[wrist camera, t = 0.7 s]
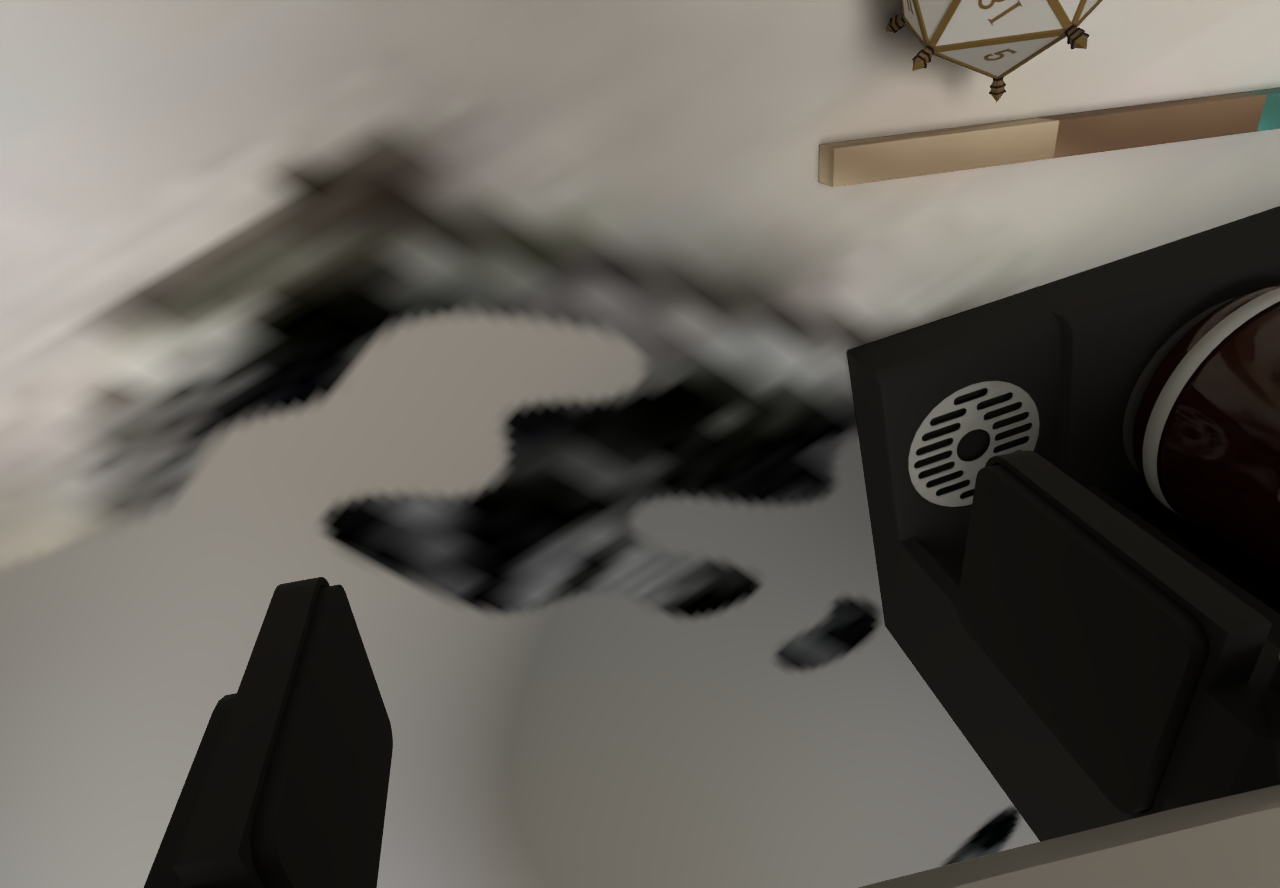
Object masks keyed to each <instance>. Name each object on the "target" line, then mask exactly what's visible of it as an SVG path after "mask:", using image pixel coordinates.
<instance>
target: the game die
mask: <svg viewBox="0 0 1280 888" xmlns="http://www.w3.org/2000/svg"><path fill="white" fill-rule="evenodd" d="M1101 1H1102V0H901V7H902V15H900V16H898V15H896V16H895V18H890V23H889V25H888V27H887V29H886V31H892V32H894V33H895V32H897V31H898V30H900V29H901V28H902V27H904V24H905V23H906V24H907V25H908V26H909V27H910V29H911V30H912V31H913V33H914V34H915V35H916V37H917V38H918V39H919V41H920V42H921V43H922V44H923V46H924V47H925V49H924V50H923V49H922V50H921V51H920V52H919V53H918V54H917V55H916V56H915V57H914V58H913V59H912V60H913V71H914V70H917V69H920V68H926V67H927V63H928V62H931V56H932V54H933V55H936V56H938V57H941V58H943V59H946V60H948V61H951V62H954V63H956V64H959V65H961V66H964V67H966V68H969V69H971V70H974V71H976V72H979V73H981V74H984V75H987V76H989V77H992V78H993V83H992V85H991V86H990V88H991V91H990V92H989V94H991V95H992V96H993V97H994V99H995V100H996V101H998V100H999V98H1000V97H1001V96H1002V94H1003V93H1004V92H1006V90H1005V89H1004V86H1006V84H1005V83H1004V81H1003V77H1004V76H1006V75H1007V74H1009V73H1010V72H1012V71H1014V70H1015V69H1017V68H1018V67H1020V66H1021V65H1023V64H1024V63H1026V62H1027V61H1029V60H1031V59H1032V58H1034V57H1035V56H1037V55H1038V54H1040V53H1041V52H1043V51H1044V50H1046V49H1047V48H1049V47H1051V46H1052V45H1054V44H1055V43H1057V42H1058V41H1060V40H1061V39H1063V38H1064V37H1066V36H1067V38H1068V41H1067V43H1068V44H1071V49H1074V48H1084V49H1086V48H1087V38H1088V37H1089V35H1088V34H1086V33H1084V32H1085V31H1084V30H1083V29H1081V28H1079V27H1078V26H1079V25H1080V24H1081V23H1082V21H1083V20H1084V19H1085V18H1086V17H1087V16H1088V15H1089V14H1090V13H1091V12H1092V11H1093V10H1094V9H1095V8H1096V7H1097V6H1098V5H1099V3H1100V2H1101ZM1077 27H1078V28H1077Z"/></svg>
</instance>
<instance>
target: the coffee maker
mask: <svg viewBox="0 0 1280 888" xmlns="http://www.w3.org/2000/svg"><path fill="white" fill-rule="evenodd" d="M847 356H848V363H849V370H850V377H851V384H852V392H853V399H854V406H855V413H856V420H857V427H858V435H859V442H860V449H861V456H862V463H863V470H864V478H865V484H866V492H867V499H868V506H869V513H870V521H871V528H872V534H873V542H874V549H875V556H876V564H877V571H878V578H879V585H880V592H881V599H882V607H883V614H884V621H885V626H886V627H887V629H888V630H889V632H890V633H891V634H892V636H893V637H894V639H895V640H896V641H897V643H898V644H899V646H900V647H901V648H902V650H903V651H904V653H905V654H906V655H907V657H908V658H909V659H910V661H911V662H912V664H913V665H914V666H915V668H916V669H917V671H918V672H919V673H920V675H921V676H922V678H923V679H924V680H925V681H926V683H927V685H928V686H929V687H930V689H931V690H932V691H933V693H934V694H935V696H936V697H937V698H938V700H939V701H940V703H941V704H942V705H943V707H944V708H945V710H946V711H947V712H948V714H949V715H950V716H951V718H952V719H953V721H954V722H955V724H956V725H957V726H958V728H959V729H960V730H961V732H962V733H963V735H964V736H965V737H966V739H967V740H968V742H969V743H970V744H971V746H972V747H973V749H974V750H975V751H976V753H977V754H978V756H979V757H980V758H981V760H982V761H983V762H984V764H985V765H986V767H987V768H988V769H989V771H990V772H991V774H992V775H993V776H994V778H995V779H996V781H997V782H998V783H999V785H1000V786H1001V787H1002V789H1003V790H1004V792H1005V793H1006V794H1007V796H1008V797H1009V799H1010V800H1011V802H1012V803H1013V804H1014V806H1015V807H1016V808H1017V810H1018V811H1019V813H1020V814H1021V815H1022V817H1023V818H1024V820H1025V821H1026V822H1027V824H1028V825H1029V827H1030V828H1031V829H1032V831H1033V832H1034V833H1035V835H1036V836H1037V838H1038V839H1039V840H1040V842H1042V841H1046V840H1050V839H1054V838H1058V837H1062V836H1066V835H1070V834H1074V833H1078V832H1082V831H1086V830H1090V829H1094V828H1098V827H1102V826H1106V825H1110V824H1114V823H1118V822H1122V821H1126V820H1130V819H1134V818H1133V817H1132V815H1131V814H1126V813H1123V812H1121V811H1119V810H1118V809H1117V808H1116V807H1115V806H1114V805H1113V804H1112V803H1111V802H1110V801H1109V800H1108V799H1107V798H1106V796H1105V795H1104V794H1103V793H1102V792H1101V790H1100V789H1099V788H1098V787H1097V786H1096V785H1095V783H1094V782H1093V781H1092V780H1091V779H1090V777H1089V776H1088V775H1087V774H1086V773H1085V771H1084V770H1083V769H1082V768H1081V767H1080V766H1079V764H1078V763H1077V762H1076V761H1075V760H1074V758H1073V757H1072V756H1071V755H1070V754H1069V753H1068V751H1067V750H1066V749H1065V748H1064V747H1063V745H1062V744H1061V743H1060V742H1059V741H1058V739H1057V738H1056V737H1055V736H1054V735H1053V734H1052V732H1051V731H1050V730H1049V729H1048V728H1047V726H1046V725H1045V724H1044V723H1043V722H1042V720H1041V719H1040V718H1039V717H1038V716H1037V715H1036V713H1035V712H1034V711H1033V710H1032V709H1031V707H1030V706H1029V705H1028V704H1027V703H1026V701H1025V700H1024V699H1023V698H1022V697H1021V696H1020V694H1019V693H1018V692H1017V691H1016V690H1015V688H1014V687H1013V686H1012V685H1011V684H1010V683H1009V681H1008V680H1007V679H1006V678H1005V677H1004V675H1003V674H1002V673H1001V672H1000V671H999V669H998V668H997V667H996V666H995V665H994V664H993V662H992V661H991V660H990V659H989V658H988V656H987V655H986V654H985V653H984V652H983V650H982V649H981V648H980V647H979V646H978V645H977V643H976V642H975V641H974V640H973V639H972V637H971V636H970V635H969V634H968V633H967V631H966V630H965V629H964V627H963V626H962V624H961V622H960V620H959V617H958V613H957V600H958V594H959V587H960V581H961V574H962V567H963V561H964V554H965V548H966V541H967V535H968V528H969V521H970V515H971V508H972V502H973V495H974V489H975V482H976V477H977V473H978V472H979V470H980V469H982V468H984V467H985V465H986V462H987V461H988V460H989V458H991V457H993V456H997V455H1003V454H1008V453H1014V452H1020V451H1025V450H1030V451H1033V452H1035V453H1037V454H1039V455H1040V456H1042V457H1043V458H1044V459H1046V460H1047V461H1048V462H1050V463H1051V464H1053V465H1054V466H1055V467H1057V468H1058V469H1060V470H1061V471H1062V472H1064V473H1065V474H1067V475H1068V476H1069V477H1071V478H1072V479H1073V480H1075V481H1076V482H1078V483H1079V484H1080V485H1082V486H1083V487H1085V488H1086V489H1087V490H1089V491H1090V492H1091V493H1093V494H1094V495H1096V496H1097V497H1098V498H1100V499H1101V500H1103V501H1104V502H1105V503H1107V504H1108V505H1110V506H1111V507H1112V508H1114V509H1115V510H1116V511H1118V512H1119V513H1121V514H1122V515H1123V516H1125V517H1126V518H1128V519H1129V520H1130V521H1132V522H1133V523H1134V524H1136V525H1137V526H1139V527H1140V528H1141V529H1143V530H1144V531H1146V532H1147V533H1148V534H1150V535H1151V536H1153V537H1154V538H1155V539H1157V540H1158V541H1159V542H1161V543H1162V544H1164V545H1165V546H1166V547H1168V548H1169V549H1171V550H1172V551H1173V552H1175V553H1176V554H1177V555H1179V556H1180V557H1182V558H1183V559H1184V560H1186V561H1187V562H1189V563H1190V564H1191V565H1193V566H1194V567H1195V568H1197V569H1198V570H1200V571H1201V572H1202V573H1204V574H1205V575H1207V576H1208V577H1209V578H1211V579H1212V580H1214V581H1215V582H1216V583H1218V584H1219V585H1220V586H1222V587H1223V588H1225V589H1226V590H1227V591H1229V592H1230V593H1232V594H1233V595H1234V596H1236V597H1237V598H1238V599H1240V600H1241V601H1243V602H1244V603H1245V604H1247V605H1248V606H1250V607H1251V608H1252V609H1254V610H1255V611H1257V612H1258V613H1259V614H1261V615H1262V616H1263V617H1265V618H1266V619H1268V620H1269V621H1270V622H1272V623H1273V624H1272V626H1271V629H1270V631H1269V634H1268V636H1267V639H1268V640H1269V641H1271V642H1272V643H1273V644H1275V645H1276V646H1277V647H1279V648H1280V207H1277V208H1274V209H1271V210H1268V211H1265V212H1262V213H1259V214H1256V215H1253V216H1250V217H1247V218H1244V219H1241V220H1238V221H1235V222H1232V223H1229V224H1226V225H1223V226H1220V227H1217V228H1214V229H1211V230H1208V231H1205V232H1202V233H1199V234H1196V235H1193V236H1190V237H1187V238H1184V239H1181V240H1178V241H1175V242H1172V243H1169V244H1166V245H1163V246H1160V247H1157V248H1154V249H1151V250H1148V251H1145V252H1142V253H1139V254H1136V255H1133V256H1130V257H1127V258H1124V259H1121V260H1118V261H1115V262H1112V263H1109V264H1106V265H1103V266H1100V267H1097V268H1094V269H1091V270H1088V271H1085V272H1082V273H1079V274H1076V275H1073V276H1070V277H1067V278H1064V279H1061V280H1058V281H1055V282H1052V283H1049V284H1046V285H1043V286H1040V287H1037V288H1034V289H1031V290H1028V291H1025V292H1022V293H1019V294H1016V295H1013V296H1010V297H1007V298H1004V299H1001V300H998V301H995V302H992V303H989V304H986V305H983V306H980V307H977V308H974V309H971V310H968V311H965V312H962V313H959V314H956V315H953V316H950V317H947V318H944V319H941V320H938V321H935V322H932V323H929V324H926V325H923V326H920V327H917V328H914V329H911V330H908V331H905V332H902V333H899V334H896V335H893V336H890V337H887V338H884V339H881V340H878V341H875V342H872V343H869V344H866V345H863V346H860V347H857V348H854V349H851V350H848V352H847Z"/></svg>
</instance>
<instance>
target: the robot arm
mask: <svg viewBox="0 0 1280 888" xmlns="http://www.w3.org/2000/svg"><path fill="white" fill-rule="evenodd" d="M957 613H958V617H959V620H960V622H961V624H962V626H963V627H964V629H965V630H966V631H967V633H968V634H969V635H970V636H971V637H972V639H973V640H974V641H975V642H976V643H977V645H978V646H979V647H980V648H981V649H982V650H983V652H984V653H985V654H986V655H987V656H988V658H989V659H990V660H991V661H992V662H993V664H994V665H995V666H996V667H997V668H998V669H999V671H1000V672H1001V673H1002V674H1003V675H1004V677H1005V678H1006V679H1007V680H1008V681H1009V683H1010V684H1011V685H1012V686H1013V687H1014V688H1015V690H1016V691H1017V692H1018V693H1019V694H1020V696H1021V697H1022V698H1023V699H1024V700H1025V701H1026V703H1027V704H1028V705H1029V706H1030V707H1031V709H1032V710H1033V711H1034V712H1035V713H1036V715H1037V716H1038V717H1039V718H1040V719H1041V720H1042V722H1043V723H1044V724H1045V725H1046V726H1047V728H1048V729H1049V730H1050V731H1051V732H1052V734H1053V735H1054V736H1055V737H1056V738H1057V739H1058V741H1059V742H1060V743H1061V744H1062V745H1063V747H1064V748H1065V749H1066V750H1067V751H1068V753H1069V754H1070V755H1071V756H1072V757H1073V758H1074V760H1075V761H1076V762H1077V763H1078V764H1079V766H1080V767H1081V768H1082V769H1083V770H1084V771H1085V773H1086V774H1087V775H1088V776H1089V777H1090V779H1091V780H1092V781H1093V782H1094V783H1095V785H1096V786H1097V787H1098V788H1099V789H1100V790H1101V792H1102V793H1103V794H1104V795H1105V796H1106V798H1107V799H1108V800H1109V801H1110V802H1111V803H1112V804H1113V805H1114V806H1115V807H1116V808H1117V809H1118V810H1119V811H1121V812H1123V813H1126V814H1131V815H1132V817H1133V818H1134V819H1130V820H1126V821H1122V822H1118V823H1114V824H1110V825H1106V826H1102V827H1098V828H1094V829H1090V830H1086V831H1082V832H1078V833H1074V834H1070V835H1066V836H1062V837H1058V838H1054V839H1050V840H1046V841H1042V842H1038V843H1034V844H1029V845H1025V846H1022V847H1018V848H1013V849H1009V850H1005V851H1001V852H997V853H993V854H989V855H985V856H981V857H977V858H973V859H969V860H965V861H962V862H958V863H954V864H950V865H946V866H942V867H938V868H934V869H930V870H926V871H922V872H918V873H914V874H910V875H906V876H902V877H898V878H894V879H890V880H886V881H882V882H878V883H875V884H871V885H867V886H863V887H859V888H1280V648H1279V647H1277V646H1276V645H1275V644H1273V643H1272V642H1271V641H1269V640H1268V639H1267V636H1268V634H1269V631H1270V629H1271V626H1272V624H1273V623H1272V622H1270V621H1269V620H1268V619H1266V618H1265V617H1263V616H1262V615H1261V614H1259V613H1258V612H1257V611H1255V610H1254V609H1252V608H1251V607H1250V606H1248V605H1247V604H1245V603H1244V602H1243V601H1241V600H1240V599H1238V598H1237V597H1236V596H1234V595H1233V594H1232V593H1230V592H1229V591H1227V590H1226V589H1225V588H1223V587H1222V586H1220V585H1219V584H1218V583H1216V582H1215V581H1214V580H1212V579H1211V578H1209V577H1208V576H1207V575H1205V574H1204V573H1202V572H1201V571H1200V570H1198V569H1197V568H1195V567H1194V566H1193V565H1191V564H1190V563H1189V562H1187V561H1186V560H1184V559H1183V558H1182V557H1180V556H1179V555H1177V554H1176V553H1175V552H1173V551H1172V550H1171V549H1169V548H1168V547H1166V546H1165V545H1164V544H1162V543H1161V542H1159V541H1158V540H1157V539H1155V538H1154V537H1153V536H1151V535H1150V534H1148V533H1147V532H1146V531H1144V530H1143V529H1141V528H1140V527H1139V526H1137V525H1136V524H1134V523H1133V522H1132V521H1130V520H1129V519H1128V518H1126V517H1125V516H1123V515H1122V514H1121V513H1119V512H1118V511H1116V510H1115V509H1114V508H1112V507H1111V506H1110V505H1108V504H1107V503H1105V502H1104V501H1103V500H1101V499H1100V498H1098V497H1097V496H1096V495H1094V494H1093V493H1091V492H1090V491H1089V490H1087V489H1086V488H1085V487H1083V486H1082V485H1080V484H1079V483H1078V482H1076V481H1075V480H1073V479H1072V478H1071V477H1069V476H1068V475H1067V474H1065V473H1064V472H1062V471H1061V470H1060V469H1058V468H1057V467H1055V466H1054V465H1053V464H1051V463H1050V462H1048V461H1047V460H1046V459H1044V458H1043V457H1042V456H1040V455H1039V454H1037V453H1035V452H1033V451H1030V450H1025V451H1020V452H1014V453H1008V454H1003V455H997V456H993V457H991V458H989V460H988V461H987V462H986V465H985V467H984V468H982V469H980V470H979V472H978V473H977V477H976V482H975V489H974V495H973V502H972V508H971V515H970V521H969V528H968V535H967V541H966V548H965V554H964V561H963V567H962V574H961V581H960V587H959V594H958V600H957ZM392 748H393V738H392V730H391V725H390V721H389V718H388V715H387V712H386V709H385V706H384V703H383V700H382V698H381V695H380V692H379V689H378V686H377V683H376V680H375V677H374V674H373V671H372V668H371V665H370V662H369V660H368V657H367V654H366V651H365V648H364V645H363V642H362V639H361V636H360V634H359V631H358V628H357V625H356V622H355V619H354V616H353V613H352V610H351V607H350V604H349V601H348V599H347V596H346V593H345V591H344V588H343V587H342V586H341V585H334V586H329V583H328V582H327V580H326V579H325V578H323V577H319V578H313V579H307V580H302V581H296V582H291V583H285V584H280V585H279V586H277V588H276V589H275V591H274V594H273V597H272V599H271V602H270V605H269V608H268V610H267V613H266V616H265V619H264V621H263V624H262V627H261V629H260V632H259V635H258V638H257V640H256V643H255V646H254V648H253V651H252V654H251V657H250V660H249V662H248V665H247V668H246V670H245V673H244V676H243V678H242V681H241V684H240V687H239V689H238V692H237V693H236V694H231V695H226V696H224V697H223V698H222V699H221V700H219V701H218V703H217V705H216V707H215V709H214V711H213V713H212V715H211V718H210V720H209V723H208V725H207V728H206V731H205V733H204V736H203V738H202V741H201V743H200V746H199V748H198V751H197V754H196V756H195V759H194V761H193V764H192V766H191V769H190V771H189V774H188V777H187V779H186V781H185V784H184V786H183V789H182V792H181V794H180V797H179V799H178V802H177V804H176V807H175V810H174V812H173V814H172V817H171V820H170V822H169V825H168V827H167V830H166V833H165V835H164V838H163V840H162V842H161V845H160V848H159V850H158V853H157V855H156V858H155V860H154V863H153V865H152V868H151V871H150V873H149V875H148V878H147V881H146V883H145V886H144V888H376V887H377V878H378V870H379V861H380V853H381V844H382V835H383V827H384V818H385V809H386V801H387V792H388V783H389V775H390V767H391V758H392Z"/></svg>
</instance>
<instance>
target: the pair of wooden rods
mask: <svg viewBox="0 0 1280 888" xmlns="http://www.w3.org/2000/svg"><path fill="white" fill-rule="evenodd" d="M1278 128H1280V88H1273V89H1265V90H1257V91H1249V92H1241V93H1233V94H1225V95H1217V96H1209V97H1201V98H1193V99H1184V100H1176V101H1168V102H1160V103H1152V104H1144V105H1136V106H1128V107H1120V108H1112V109H1104V110H1095V111H1087V112H1079V113H1071V114H1063V115H1055V116H1047V117H1039V118H1031V119H1023V120H1015V121H1007V122H998V123H990V124H982V125H974V126H966V127H958V128H950V129H942V130H934V131H926V132H918V133H909V134H901V135H893V136H885V137H877V138H869V139H861V140H853V141H845V142H837V143H829V144H821V145H820V151H819V182H821V183H824V184H826V185H829V186H832V187H837V186H845V185H853V184H860V183H868V182H875V181H883V180H891V179H898V178H906V177H913V176H921V175H929V174H936V173H944V172H951V171H959V170H967V169H974V168H982V167H989V166H997V165H1005V164H1012V163H1020V162H1027V161H1035V160H1043V159H1050V158H1058V157H1066V156H1073V155H1081V154H1088V153H1096V152H1104V151H1111V150H1119V149H1126V148H1134V147H1142V146H1149V145H1157V144H1164V143H1172V142H1180V141H1187V140H1195V139H1202V138H1210V137H1218V136H1225V135H1233V134H1240V133H1248V132H1256V131H1263V130H1271V129H1278Z"/></svg>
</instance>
